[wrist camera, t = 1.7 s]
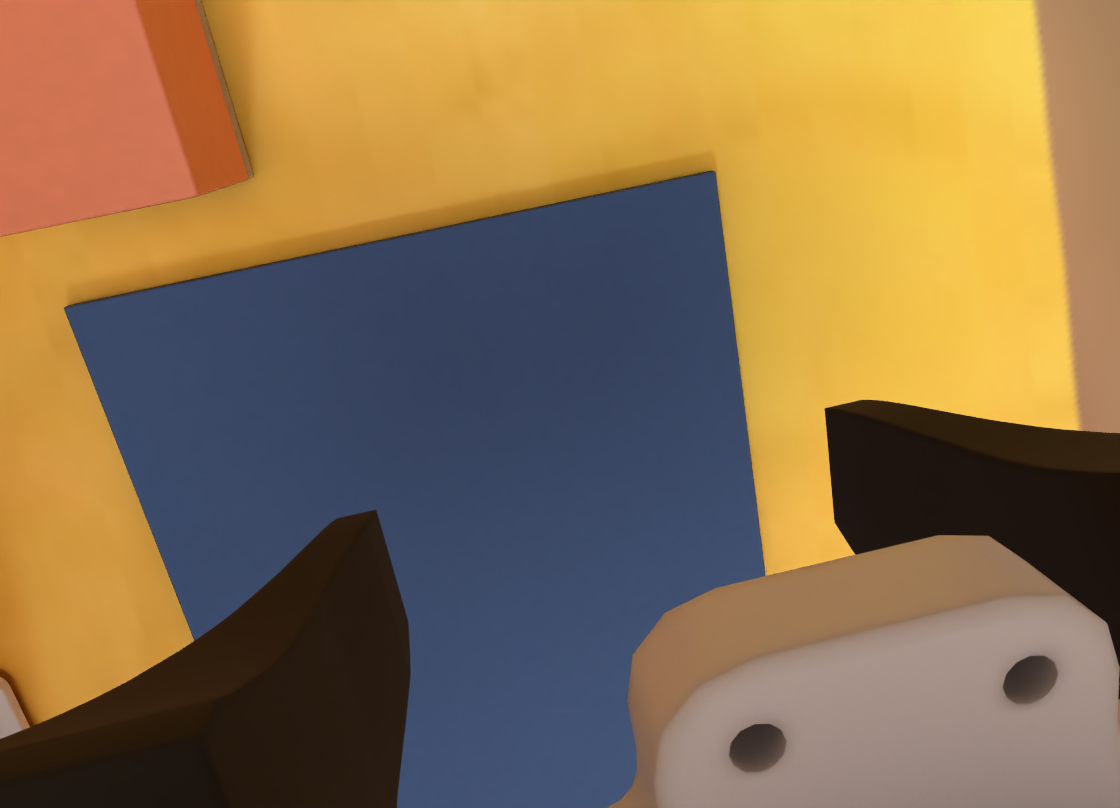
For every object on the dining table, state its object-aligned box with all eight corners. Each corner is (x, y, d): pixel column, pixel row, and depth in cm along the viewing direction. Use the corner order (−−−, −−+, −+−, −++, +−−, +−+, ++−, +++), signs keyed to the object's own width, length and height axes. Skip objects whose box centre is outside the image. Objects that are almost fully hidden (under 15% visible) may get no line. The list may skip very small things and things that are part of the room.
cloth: (305, 912, 27) (304, 921, 27) (68, 305, 21) (62, 307, 20) (789, 788, 28) (793, 795, 28) (712, 170, 22) (715, 170, 21)
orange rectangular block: (74, 214, 20) (-37, 244, 15) (-53, -126, 18) (-231, -214, 13) (254, 177, 20) (199, 196, 16) (152, -163, 18) (51, -261, 13)
